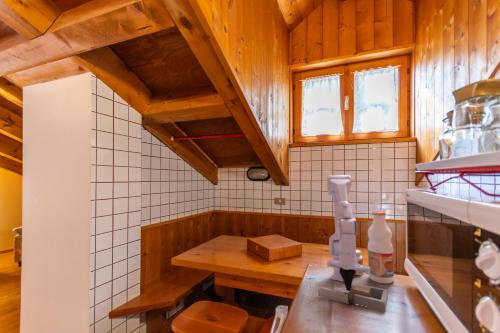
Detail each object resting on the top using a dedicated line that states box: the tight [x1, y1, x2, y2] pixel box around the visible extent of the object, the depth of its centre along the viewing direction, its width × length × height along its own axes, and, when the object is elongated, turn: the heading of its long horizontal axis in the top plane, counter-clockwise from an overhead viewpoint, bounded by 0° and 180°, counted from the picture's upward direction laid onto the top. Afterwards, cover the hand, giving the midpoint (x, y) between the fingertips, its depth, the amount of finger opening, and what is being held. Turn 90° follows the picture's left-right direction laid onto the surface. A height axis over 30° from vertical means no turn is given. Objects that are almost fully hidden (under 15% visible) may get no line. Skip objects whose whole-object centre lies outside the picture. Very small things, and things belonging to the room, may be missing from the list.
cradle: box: [353, 283, 389, 313], centre depth 87 cm, size 10×9×3 cm
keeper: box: [317, 286, 354, 307], centre depth 87 cm, size 12×1×4 cm, turn 57°
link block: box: [349, 282, 372, 300], centre depth 88 cm, size 5×6×4 cm
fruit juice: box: [367, 210, 395, 284], centre depth 105 cm, size 9×9×28 cm
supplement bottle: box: [355, 249, 364, 276], centre depth 112 cm, size 5×5×10 cm
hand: (348, 289), depth 91 cm, fingers closed
